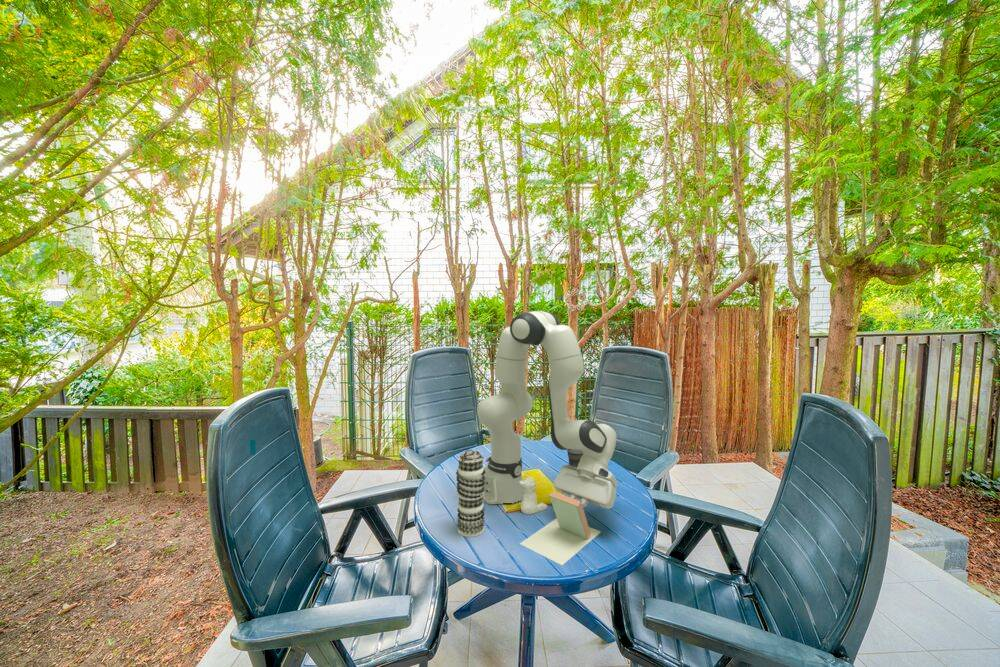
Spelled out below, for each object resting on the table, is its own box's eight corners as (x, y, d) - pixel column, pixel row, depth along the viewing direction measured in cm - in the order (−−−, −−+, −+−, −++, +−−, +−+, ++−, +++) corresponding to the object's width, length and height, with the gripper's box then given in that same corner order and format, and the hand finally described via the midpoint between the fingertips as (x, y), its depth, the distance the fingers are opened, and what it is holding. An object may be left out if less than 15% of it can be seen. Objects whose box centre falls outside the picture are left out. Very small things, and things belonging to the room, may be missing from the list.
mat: (519, 545, 120) (519, 543, 120) (560, 517, 137) (560, 515, 136) (562, 567, 110) (562, 565, 110) (601, 533, 127) (601, 531, 127)
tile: (559, 528, 129) (548, 496, 123) (563, 522, 130) (552, 490, 125) (587, 540, 122) (577, 507, 117) (590, 534, 124) (581, 501, 118)
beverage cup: (568, 474, 171) (569, 427, 170) (586, 477, 168) (586, 429, 167) (565, 481, 164) (565, 433, 163) (583, 484, 162) (583, 435, 160)
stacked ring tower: (470, 518, 135) (470, 445, 134) (491, 528, 129) (491, 452, 128) (450, 530, 128) (449, 453, 127) (471, 541, 122) (471, 460, 121)
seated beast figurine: (548, 509, 142) (548, 475, 141) (537, 520, 134) (537, 485, 134) (524, 502, 147) (524, 470, 146) (512, 513, 139) (512, 479, 138)
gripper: (560, 458, 137) (543, 496, 131) (616, 475, 124) (600, 518, 117) (567, 467, 141) (550, 505, 134) (622, 484, 127) (607, 527, 121)
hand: (574, 511), depth 126 cm, fingers closed
